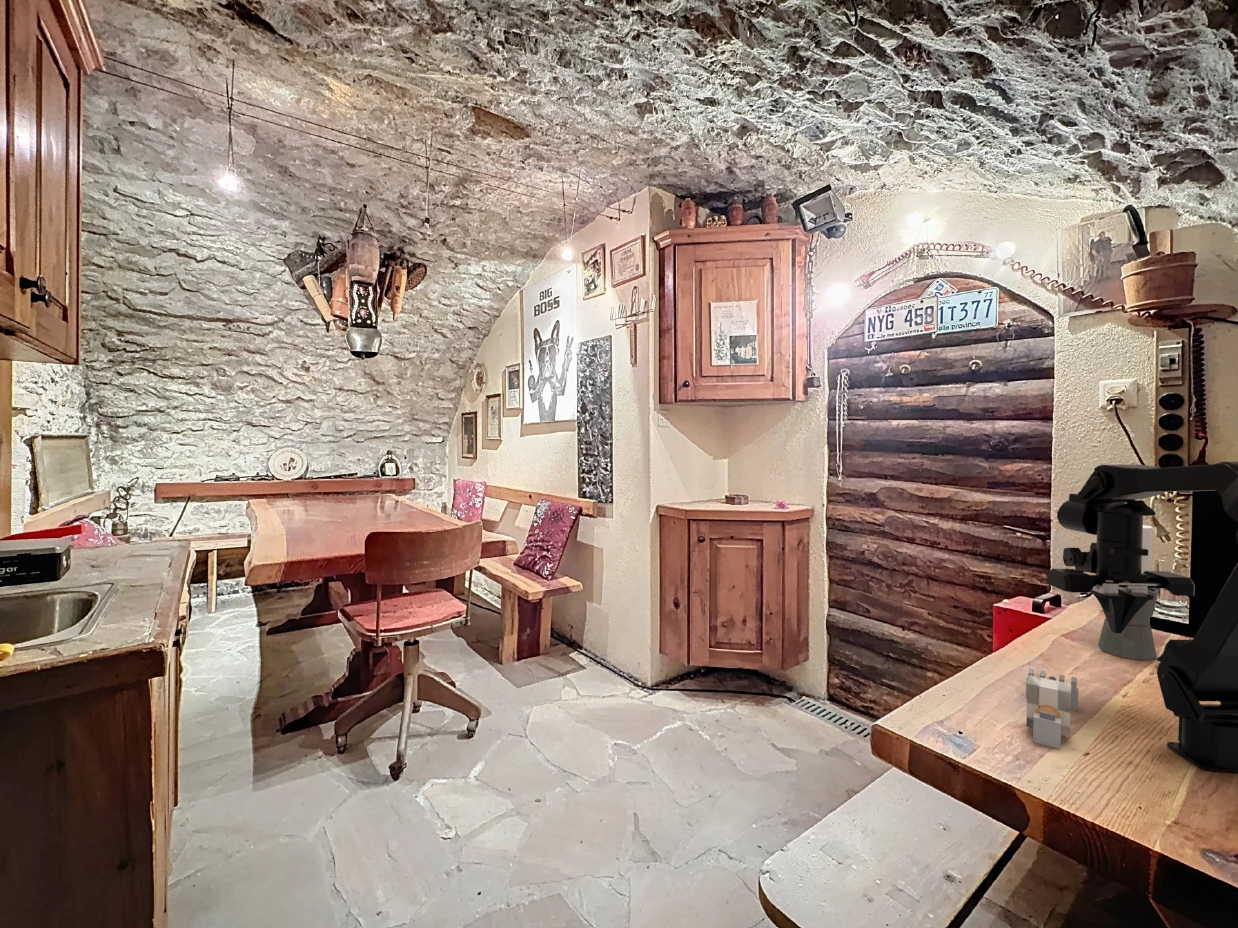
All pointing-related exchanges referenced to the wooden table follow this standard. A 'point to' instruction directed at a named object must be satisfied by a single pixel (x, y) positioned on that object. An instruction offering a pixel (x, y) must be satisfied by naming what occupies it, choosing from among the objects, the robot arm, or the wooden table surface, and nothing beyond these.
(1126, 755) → the wooden table surface
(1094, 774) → the wooden table surface
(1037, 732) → the cord rig
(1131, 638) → the coffeepot
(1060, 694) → the sleeve
